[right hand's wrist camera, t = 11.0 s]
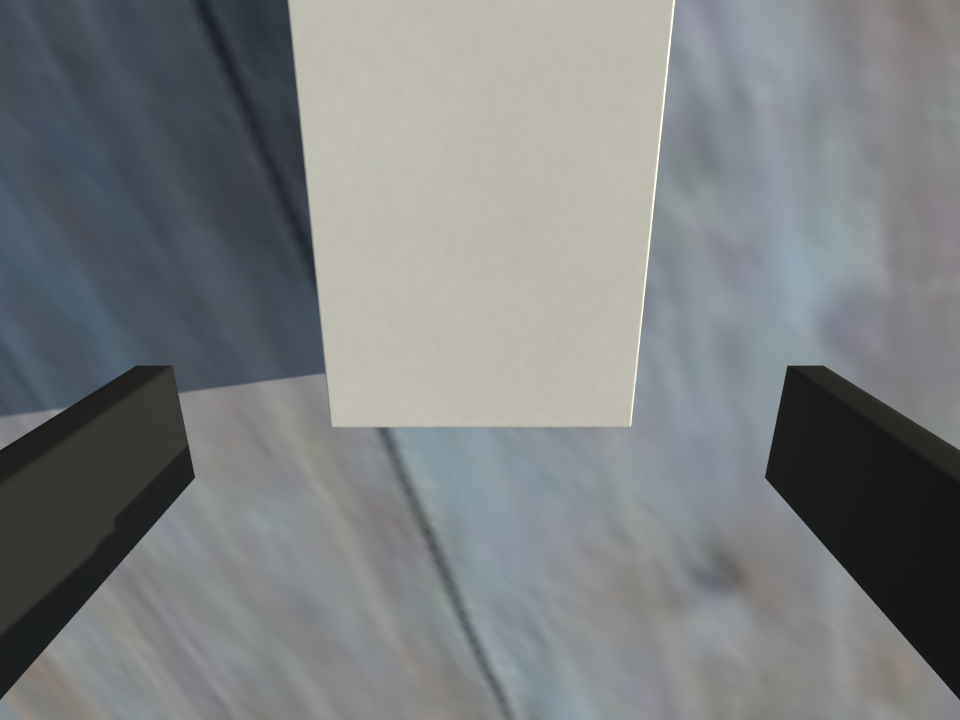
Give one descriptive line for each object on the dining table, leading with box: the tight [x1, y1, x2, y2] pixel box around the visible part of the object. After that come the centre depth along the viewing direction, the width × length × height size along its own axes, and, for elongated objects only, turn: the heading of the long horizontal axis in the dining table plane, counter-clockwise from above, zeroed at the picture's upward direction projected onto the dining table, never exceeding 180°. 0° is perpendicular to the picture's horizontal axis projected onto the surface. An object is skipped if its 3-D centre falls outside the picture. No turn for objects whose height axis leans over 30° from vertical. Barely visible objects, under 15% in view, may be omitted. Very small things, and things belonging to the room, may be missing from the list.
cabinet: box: [287, 0, 675, 427], centre depth 21 cm, size 21×11×10 cm, turn 0°
